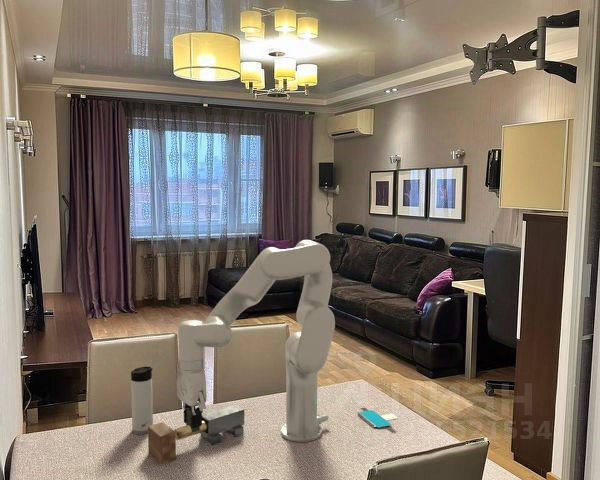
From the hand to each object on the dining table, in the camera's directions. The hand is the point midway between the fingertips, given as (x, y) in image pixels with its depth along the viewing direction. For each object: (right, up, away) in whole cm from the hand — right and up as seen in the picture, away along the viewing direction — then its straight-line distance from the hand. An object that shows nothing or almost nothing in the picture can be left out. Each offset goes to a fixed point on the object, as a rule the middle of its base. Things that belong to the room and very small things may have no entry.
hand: (192, 423), depth 156 cm
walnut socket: (-7, -7, -5) cm, 12 cm away
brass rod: (+3, -3, +3) cm, 5 cm away
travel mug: (-18, -6, +11) cm, 21 cm away
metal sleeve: (+8, -6, +7) cm, 12 cm away
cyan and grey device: (+58, -6, +20) cm, 61 cm away
